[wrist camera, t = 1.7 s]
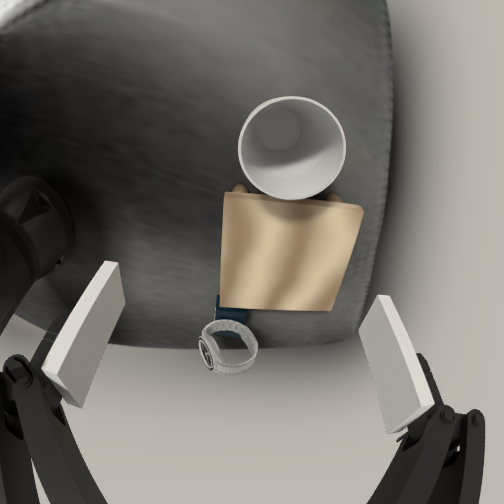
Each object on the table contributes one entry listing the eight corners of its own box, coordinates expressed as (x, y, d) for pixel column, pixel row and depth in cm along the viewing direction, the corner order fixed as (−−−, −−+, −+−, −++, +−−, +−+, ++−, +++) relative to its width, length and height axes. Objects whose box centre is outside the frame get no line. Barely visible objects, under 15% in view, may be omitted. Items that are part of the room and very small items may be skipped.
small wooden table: (222, 275, 38) (219, 306, 34) (227, 177, 31) (224, 197, 26) (321, 281, 39) (330, 310, 34) (346, 189, 32) (364, 211, 27)
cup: (231, 103, 26) (224, 111, 18) (307, 86, 25) (335, 88, 17) (251, 172, 31) (253, 210, 22) (321, 156, 30) (351, 188, 21)
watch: (203, 293, 40) (194, 355, 31) (258, 298, 41) (262, 360, 32) (202, 319, 43) (194, 378, 34) (252, 324, 44) (254, 383, 35)
